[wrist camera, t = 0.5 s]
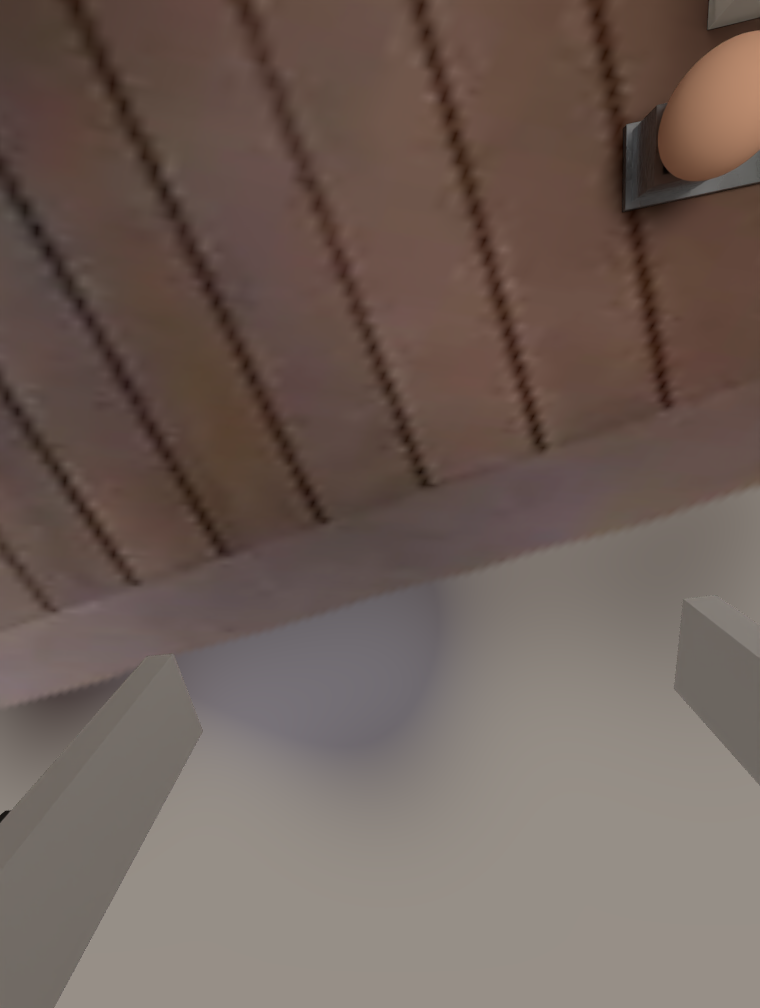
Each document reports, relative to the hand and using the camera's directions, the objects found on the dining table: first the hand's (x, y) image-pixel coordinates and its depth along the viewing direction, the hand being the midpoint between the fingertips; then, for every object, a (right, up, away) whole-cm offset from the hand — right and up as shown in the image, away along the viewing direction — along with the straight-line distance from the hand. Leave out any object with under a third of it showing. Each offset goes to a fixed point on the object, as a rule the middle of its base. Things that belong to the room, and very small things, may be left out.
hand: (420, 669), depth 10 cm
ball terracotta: (+19, +28, +15) cm, 36 cm away
